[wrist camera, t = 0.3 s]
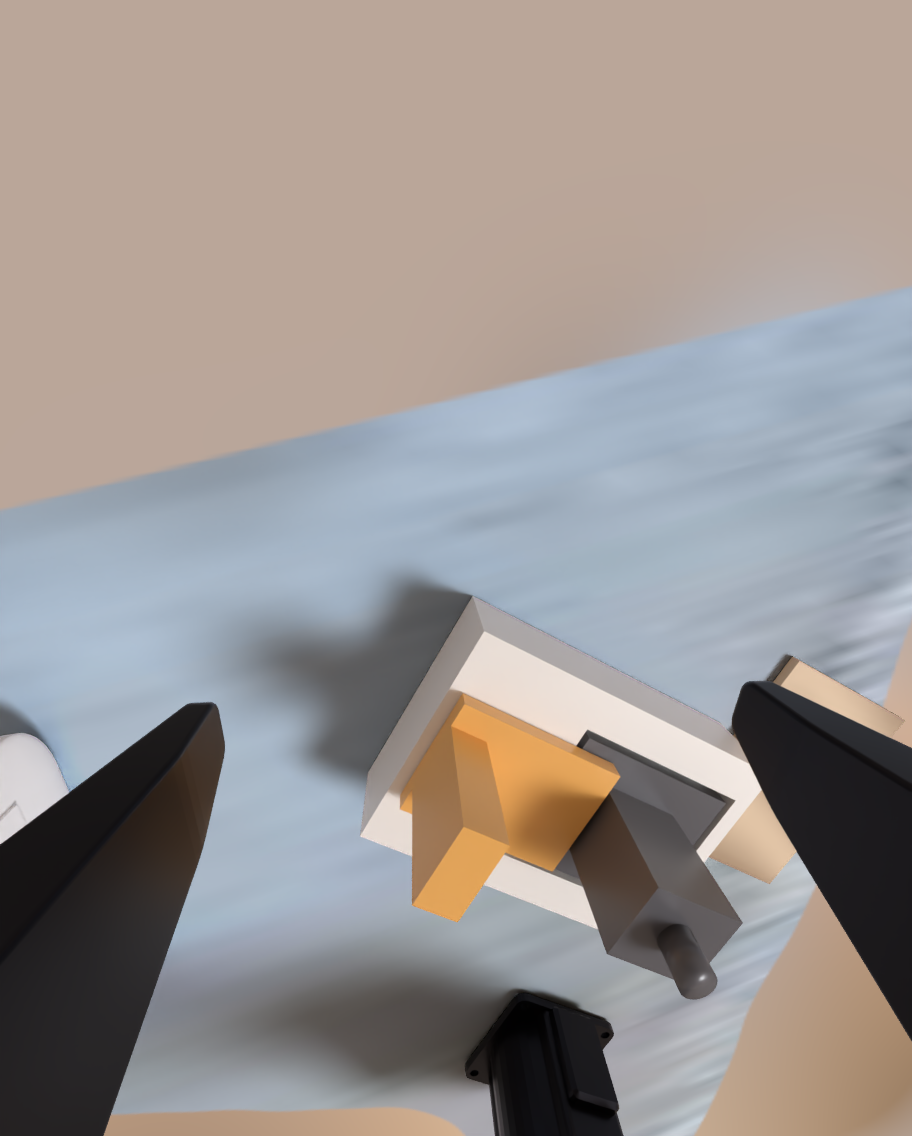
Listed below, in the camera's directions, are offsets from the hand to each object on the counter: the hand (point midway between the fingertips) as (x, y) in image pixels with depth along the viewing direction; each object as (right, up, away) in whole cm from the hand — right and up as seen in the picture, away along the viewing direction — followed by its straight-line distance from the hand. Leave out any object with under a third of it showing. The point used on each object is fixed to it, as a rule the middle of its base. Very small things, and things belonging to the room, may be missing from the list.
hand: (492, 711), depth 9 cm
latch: (+1, -6, +12) cm, 14 cm away
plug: (+6, -8, +14) cm, 18 cm away
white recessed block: (+4, -6, +17) cm, 18 cm away
